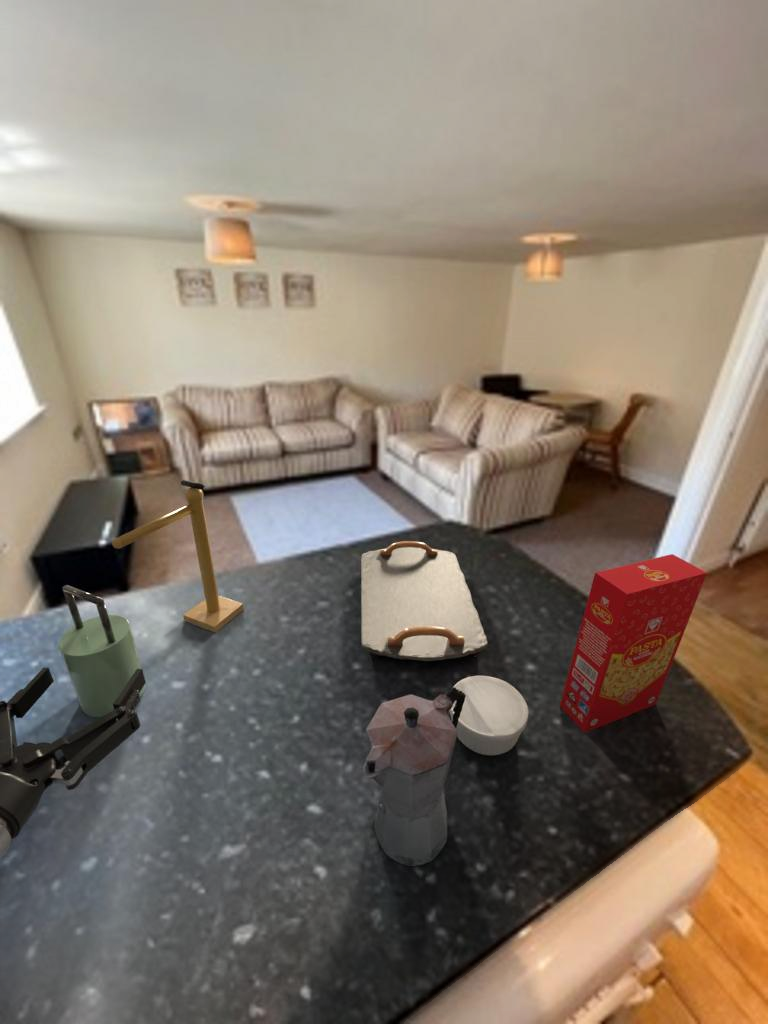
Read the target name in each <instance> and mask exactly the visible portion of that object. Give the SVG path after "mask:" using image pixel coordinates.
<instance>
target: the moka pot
mask: <svg viewBox="0 0 768 1024" xmlns="http://www.w3.org/2000/svg"><path fill="white" fill-rule="evenodd" d="M465 697H466V695H465V694H464V693H463V692H462V691H459V689H458V690H457V689H456V688H455V687H454V686H453V687H452V688H450V689H449V691H447V693H446V694H441V693H440V694H439V695H438V696H437V697H436V698H434V699H433V700H430V699H427V698H423V697H421V696H418V695H414V694H408V695H407V694H406V695H404V696H401V697H398V698H395V699H391V700H388V701H385V702H382V703H381V704H379V707H378V708H377V710H376V712H375V713H374V715H373V717H372V719H371V720H370V722H369V724H368V725H367V727H366V730H365V735H366V739H367V745H368V748H369V753H368V755H367V757H366V759H365V761H364V764H363V766H362V776H363V778H364V779H366V780H371V779H372V780H373V781H374V782H375V783H376V784H377V785H378V786H379V794H378V795H379V796H378V802H377V809H376V815H375V823H374V833H375V836H376V838H377V841H378V843H379V845H380V847H381V848H382V850H383V852H384V854H385V855H386V856H387V857H389V858H390V859H392V860H393V861H395V862H397V863H398V864H401V865H404V866H408V867H416V866H421V865H425V864H429V863H431V862H432V861H433V860H434V859H435V858H437V856H438V855H439V854H440V852H441V851H442V850H443V848H444V847H445V846H446V843H447V841H448V811H447V806H446V805H447V804H446V798H445V793H444V786H445V783H446V780H447V777H448V773H449V769H450V765H451V761H452V756H453V752H454V749H455V745H456V742H457V738H458V737H457V734H458V733H457V731H456V727H457V724H458V719H459V717H460V713H461V711H462V707H463V704H464V701H465ZM455 701H456V703H455V707H454V708H453V712H454V714H453V721H452V720H451V717H449V714H448V712H450V711H449V710H450V709H451V708H452V707H453V704H454V702H455Z"/></svg>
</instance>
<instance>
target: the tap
mask: <svg viewBox="0 0 768 1024" xmlns="http://www.w3.org/2000/svg"><path fill="white" fill-rule="evenodd" d="M180 485H182V486H183V487H187V488H188V489H187V490H186V491H185V493H184V497H185V498H184V499H185V500H186V501H187V504H186V505H184V506H182V507H180V508H177V509H175V510H174V511H172V512H169V513H167V514H165V515H163V516H160V517H159V518H158V517H157V518H156V519H154V520H152V521H150V522H148V523H145V524H144V525H141V526H139V527H136V528H135V529H132V530H130V531H129V532H125V533H124V534H122V535H120V536H118V537H115V538H114V539H113V540H112V543H111V545H112V546H113V548H114V549H122V548H124V547H126V546H128V545H130V544H132V543H134V542H136V541H138V540H140V539H142V538H144V537H146V536H148V535H150V534H152V533H154V532H157V531H159V530H160V529H163V528H164V527H166V526H169V525H171V524H172V523H173V524H174V523H175V522H177V521H179V520H181V519H182V518H185V517H187V516H190V522H191V528H192V533H193V538H194V543H195V549H196V550H195V551H196V554H197V555H196V556H197V560H198V565H199V571H200V577H201V578H200V579H201V583H202V588H203V589H202V590H203V594H204V599H203V600H202V601H200V602H198V604H196V605H195V606H193V607H192V608H191V609H189V610H188V611H186V612H185V613H183V615H182V616H183V621H184V620H185V621H184V622H186V621H187V622H186V623H188V622H190V623H189V624H191V623H192V625H194V624H195V625H194V626H196V625H197V627H200V628H202V629H204V630H206V631H209V632H212V633H215V634H216V633H217V632H219V631H220V630H221V629H222V628H224V627H225V626H226V625H227V624H228V623H229V622H231V621H232V620H233V619H234V618H235V617H237V616H238V615H239V614H240V613H242V612H243V611H244V610H245V609H244V608H245V607H244V603H242V602H240V601H237V600H234V599H231V598H228V597H225V596H221V595H219V593H218V588H217V580H216V574H215V568H214V562H213V555H212V550H211V544H210V543H211V542H210V537H209V532H208V526H207V525H208V524H207V519H206V518H207V517H206V513H205V507H204V501H203V500H204V491H203V490H205V485H204V484H203V483H199V482H194V481H190V480H187V479H182V480H181V481H180Z"/></svg>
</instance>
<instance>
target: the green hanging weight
mask: <svg viewBox="0 0 768 1024" xmlns="http://www.w3.org/2000/svg"><path fill="white" fill-rule="evenodd" d="M62 591H63V595H64V598H65V601H66V604H67V607H68V611H69V613H70V615H71V619H72V622H73V624H74V626H72V627H71V628H70V629H67V631H66V632H65V633H64V634H63V635H62V637H61V638H60V640H59V642H58V648H59V652H60V654H61V657H62V660H63V663H64V665H65V668H66V670H67V673H68V677H69V678H70V681H71V684H72V687H73V689H74V693H75V695H76V699H77V700H78V704H79V706H80V708H81V710H82V712H83V713H84V714H85V715H87V716H89V717H92V718H101V717H103V716H105V715H106V714H108V713H110V712H111V711H113V710H114V707H113V704H114V702H115V701H116V699H117V698H118V696H119V695H120V693H121V692H122V690H123V689H124V687H125V686H126V684H127V683H128V681H129V680H130V678H131V677H132V675H133V674H134V672H135V671H136V669H142V670H143V667H142V664H141V661H140V657H139V652H138V649H137V646H136V641H135V639H134V635H133V631H132V627H131V623H130V621H129V620H128V619H127V618H126V617H123V616H121V615H115V614H109V613H108V610H107V606H106V603H105V599H104V598H102V597H100V596H98V595H95V594H92V593H89V592H86V591H85V590H82V589H79V588H77V587H74V586H72V585H69V584H66V585H63V586H62ZM75 597H76V598H78V599H81V600H84V601H86V602H89V603H91V604H94V605H95V606H96V609H97V612H98V616H95V617H92V618H89V619H86V620H84V621H83V620H82V617H81V613H80V611H79V608H78V604H77V602H76V598H75ZM146 686H147V682H146V683H145V685H144V686H143V688H142V689H141V691H140V693H139V694H140V698H141V697H142V696H143V694H144V692H145V690H146Z"/></svg>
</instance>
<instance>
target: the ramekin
mask: <svg viewBox="0 0 768 1024" xmlns="http://www.w3.org/2000/svg"><path fill="white" fill-rule="evenodd" d="M453 687H455V688H456V689H457V690H458V689H459V691H462V692H463V693H464V694H465V695H466V697H465V701H464V704H463V707H462V711H461V713H460V717H459V719H458V724H457V727H456V731H457V733H458V734H457V738H458V740H459V742H461V744H463V745H464V746H465V747H466V748H468V749H469V750H471V751H473V752H474V753H477V754H479V755H483V756H498V755H502V754H505V753H507V752H509V751H510V750H512V749H513V748H514V747H515V745H516V744H517V742H518V740H519V738H520V736H521V735H522V732H523V731H524V730H525V729H526V727H527V724H528V721H529V707H528V704H527V702H526V699H525V698H524V697H523V695H522V694H521V693H520V692H519V691H518V690H517V688H515V687H514V686H513V685H512V684H510V683H509V682H507V681H505V680H502V679H501V678H498V677H493V676H489V675H473V676H468V677H465V678H463V679H461V680H459V681H457V682H456V684H454V686H453ZM455 703H456V701H455V702H454V704H453V707H452V708H451V709H450V710H449V711H448V712H449V714H450V720H451V721H453V714H454V712H453V708H454V707H455Z"/></svg>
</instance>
